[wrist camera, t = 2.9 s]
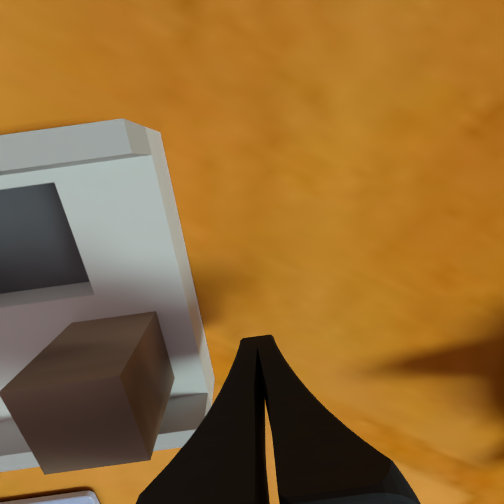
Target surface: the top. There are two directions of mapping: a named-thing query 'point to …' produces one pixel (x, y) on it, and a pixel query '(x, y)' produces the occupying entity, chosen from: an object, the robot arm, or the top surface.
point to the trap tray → (95, 259)
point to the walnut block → (94, 394)
